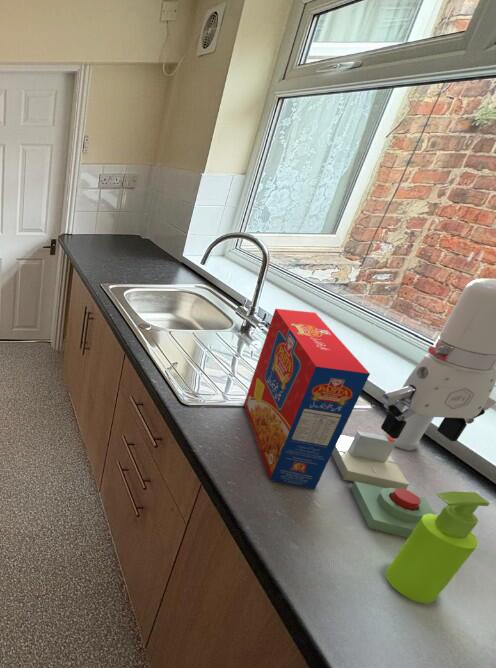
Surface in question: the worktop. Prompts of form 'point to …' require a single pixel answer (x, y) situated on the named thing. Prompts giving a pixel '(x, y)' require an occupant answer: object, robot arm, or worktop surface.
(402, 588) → the soap dispenser
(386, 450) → the tap handle
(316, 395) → the pasta box
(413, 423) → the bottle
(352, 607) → the worktop surface
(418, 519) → the button box
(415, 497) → the button
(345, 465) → the block
